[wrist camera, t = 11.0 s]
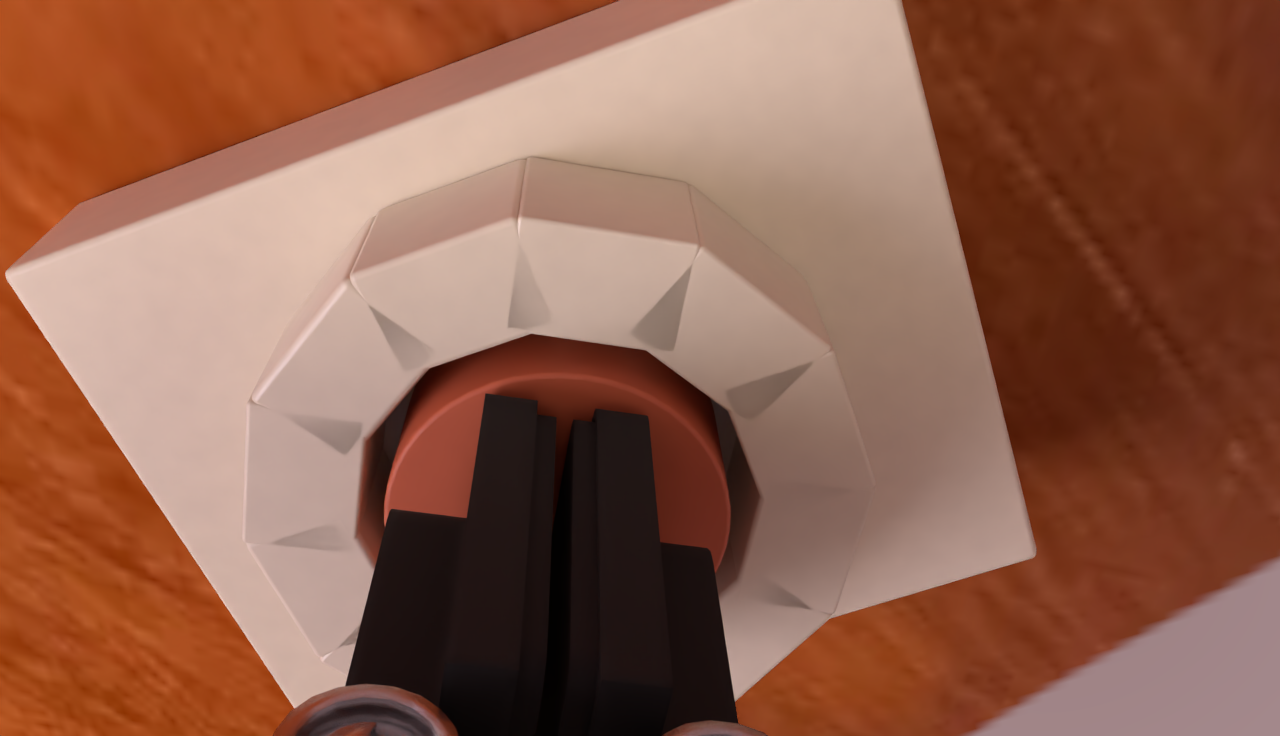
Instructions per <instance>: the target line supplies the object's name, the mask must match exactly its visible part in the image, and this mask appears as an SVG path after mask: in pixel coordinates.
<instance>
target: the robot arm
mask: <svg viewBox="0 0 1280 736" xmlns="http://www.w3.org/2000/svg"><path fill="white" fill-rule="evenodd" d="M537 408H538V401H537V400H530V399H523V398H516V397H509V396H501V395H494V394H487V393H485V399H484V406H483V413H482V419H481V426H480V433H479V439H478V446H477V453H476V459H475V466H474V472H473V479H472V486H471V492H470V499H469V506H468V512H467V518H462V517H454V516H446V515H438V514H430V513H422V512H414V511H406V510H398V509H391V510H390V511H389V515H388V518H387V521H386V525H385V529H384V533H383V537H382V541H381V545H380V549H379V553H378V557H377V561H376V565H375V569H374V573H373V577H372V581H371V585H370V589H369V593H368V597H367V601H366V605H365V609H364V613H363V617H362V621H361V625H360V629H359V633H358V637H357V641H356V645H355V649H354V653H353V657H352V661H351V665H350V669H349V673H348V677H347V681H346V685H345V686H343V687H337V688H334V689H332V690H329V691H326V692H323V693H320V694H318V695H315V696H312V697H311V698H309V699H308V700H306V701H305V702H303V703H302V704H300V705H299V706H298V707H296V708H295V709H293V710H292V711H290V712H289V714H288V715H287V716H286V718H285V719H284V720H283V721H282V723H281V724H280V725H279V727H278V728H277V729H276V730H275V732H274V734H273V736H768V735H766V734H765V733H763V732H761V731H758V730H755V729H752V728H749V727H746V726H743V725H740V724H738V719H737V712H736V706H735V699H734V693H733V686H732V680H731V673H730V667H729V661H728V654H727V648H726V641H725V635H724V628H723V622H722V615H721V609H720V602H719V596H718V589H717V583H716V576H715V570H714V563H713V559H712V555H711V551H710V550H709V549H708V548H703V547H695V546H687V545H679V544H671V543H663V542H660V535H659V524H658V513H657V502H656V491H655V481H654V470H653V459H652V448H651V437H650V426H649V419H648V416H647V415H640V414H633V413H625V412H618V411H611V410H603V409H595V411H594V414H593V418H592V422H589V421H582V420H574V419H573V422H572V426H571V430H570V436H569V441H568V447H567V452H566V458H565V463H564V469H563V475H562V480H561V486H560V491H559V497H558V502H557V508H556V513H555V519H554V525H553V530H552V522H553V498H554V473H555V449H556V425H557V417H552V416H545V415H538V414H537Z"/></svg>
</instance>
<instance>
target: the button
mask: <svg viewBox="0 0 1280 736" xmlns="http://www.w3.org/2000/svg"><path fill="white" fill-rule="evenodd" d="M485 393H487V394H494V395H501V396H509V397H516V398H523V399H530V400H537V401H538V408H537V414H538V415H545V416H552V417H557V425H556V449H555V473H554V498H553V522H552V530H553V525H554V519H555V513H556V508H557V502H558V497H559V491H560V486H561V480H562V475H563V469H564V463H565V458H566V452H567V447H568V441H569V436H570V430H571V426H572V422H573V419H574V420H582V421H589V422H592V418H593V414H594V411H595V409H603V410H611V411H618V412H625V413H633V414H640V415H647V416H648V419H649V426H650V437H651V448H652V459H653V470H654V481H655V491H656V502H657V513H658V524H659V535H660V542H663V543H671V544H679V545H687V546H695V547H703V548H708V549H709V550H710V551H711V555H712V559H713V563H714V570H715V573H716V571H717V569H718V567H719V566H720V564H721V561H722V558H723V555H724V553H725V550H726V547H727V543H728V537H729V532H730V523H731V506H730V499H729V491H728V485H727V480H726V474H725V469H724V463H723V458H722V452H721V447H720V441H719V436H718V430H717V425H716V419H715V414H714V409H713V406H712V402H711V399H710V397H708V396H707V395H706V394H704V393H703V392H702V391H700V390H699V389H697V388H696V387H695V386H693V385H692V384H691V383H689V382H688V381H687V380H685V379H684V378H683V377H681V376H680V375H679V374H677V373H676V372H675V371H673V370H672V369H670V368H669V367H668V366H666V365H665V364H664V363H662V362H661V361H660V360H658V359H657V358H656V357H654V356H653V355H652V354H650V353H649V352H648V351H646V350H640V349H633V348H626V347H620V346H613V345H606V344H599V343H592V342H585V341H578V340H572V339H565V338H558V337H551V336H544V335H537V334H529V335H526V336H523V337H520V338H517V339H514V340H511V341H508V342H506V343H503V344H500V345H497V346H494V347H491V348H488V349H485V350H482V351H479V352H476V353H473V354H470V355H467V356H464V357H462V358H459V359H456V360H453V361H450V362H447V363H444V364H441V365H438V366H435V367H432V368H430V369H429V370H428V371H427V372H426V373H425V374H424V376H423V377H422V378H421V379H420V380H419V381H418V383H417V384H416V385H415V388H414V391H413V394H412V397H411V399H410V402H409V406H408V410H407V413H406V417H405V421H404V424H403V428H402V432H401V435H400V439H399V443H398V446H397V450H396V454H395V457H394V461H393V465H392V468H391V472H390V476H389V480H388V484H387V489H386V495H385V500H384V524H385V525H386V521H387V518H388V515H389V511H390V510H391V509H398V510H406V511H414V512H422V513H430V514H438V515H446V516H454V517H462V518H467V512H468V506H469V499H470V492H471V486H472V479H473V472H474V466H475V459H476V453H477V446H478V439H479V433H480V426H481V419H482V413H483V406H484V399H485Z"/></svg>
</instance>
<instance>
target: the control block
mask: <svg viewBox="0 0 1280 736" xmlns="http://www.w3.org/2000/svg"><path fill="white" fill-rule="evenodd" d="M5 275H6V279H7V281H8V282H9V284H10V285H11V287H12V288H13V290H14V291H15V293H16V294H17V296H18V297H19V299H20V300H21V302H22V303H23V304H24V306H25V307H26V309H27V310H28V312H29V313H30V315H31V316H32V318H33V319H34V321H35V322H36V324H37V325H38V327H39V328H40V330H41V331H42V333H43V334H44V336H45V337H46V339H47V340H48V342H49V343H50V345H51V346H52V348H53V349H54V351H55V352H56V354H57V355H58V357H59V358H60V360H61V361H62V363H63V364H64V366H65V367H66V369H67V370H68V372H69V373H70V375H71V376H72V378H73V379H74V381H75V382H76V383H77V385H78V386H79V388H80V389H81V391H82V392H83V394H84V395H85V397H86V398H87V400H88V401H89V403H90V404H91V406H92V407H93V409H94V410H95V412H96V413H97V415H98V416H99V418H100V419H101V421H102V422H103V424H104V425H105V427H106V428H107V430H108V431H109V433H110V434H111V436H112V437H113V439H114V440H115V442H116V443H117V445H118V446H119V448H120V449H121V451H122V452H123V454H124V455H125V457H126V458H127V460H128V461H129V462H130V464H131V465H132V467H133V468H134V470H135V471H136V473H137V474H138V476H139V477H140V479H141V480H142V482H143V483H144V485H145V486H146V488H147V489H148V491H149V492H150V494H151V495H152V497H153V498H154V500H155V501H156V503H157V504H158V506H159V507H160V509H161V510H162V512H163V513H164V515H165V516H166V518H167V519H168V521H169V522H170V524H171V525H172V527H173V528H174V530H175V531H176V533H177V534H178V536H179V537H180V539H181V540H182V541H183V543H184V544H185V546H186V547H187V549H188V550H189V552H190V553H191V555H192V556H193V558H194V559H195V561H196V562H197V564H198V565H199V567H200V568H201V570H202V571H203V573H204V574H205V576H206V577H207V579H208V580H209V582H210V583H211V585H212V586H213V588H214V589H215V591H216V592H217V594H218V595H219V597H220V598H221V600H222V601H223V603H224V604H225V606H226V607H227V609H228V610H229V612H230V613H231V615H232V616H233V618H234V619H235V620H236V622H237V623H238V625H239V626H240V628H241V629H242V631H243V632H244V634H245V635H246V637H247V638H248V640H249V641H250V643H251V644H252V646H253V647H254V649H255V650H256V652H257V653H258V655H259V656H260V658H261V659H262V661H263V662H264V664H265V665H266V667H267V668H268V670H269V671H270V673H271V674H272V676H273V677H274V679H275V680H276V682H277V683H278V685H279V686H280V688H281V689H282V691H283V692H284V694H285V695H286V697H287V698H288V699H289V701H290V702H291V704H292V705H293V707H294V708H296V707H298V706H299V705H300V704H302V703H303V702H305V701H306V700H308V699H309V698H311V697H312V696H315V695H318V694H320V693H323V692H326V691H329V690H332V689H334V688H337V687H343V686H345V685H346V681H347V677H348V673H349V669H350V665H351V661H352V657H353V653H354V649H355V645H356V641H357V637H358V633H359V629H360V625H361V621H362V617H363V613H364V609H365V605H366V601H367V597H368V593H369V589H370V585H371V581H372V577H373V573H374V569H375V565H376V561H377V557H378V553H379V549H380V545H381V541H382V537H383V533H384V529H385V524H384V500H385V495H386V489H387V484H388V480H389V476H390V472H391V468H392V465H393V461H394V457H395V454H396V450H397V446H398V443H399V439H400V435H401V432H402V428H403V424H404V421H405V417H406V413H407V410H408V406H409V402H410V399H411V397H412V394H413V391H414V388H415V385H416V384H417V383H418V381H419V380H420V379H421V378H422V377H423V376H424V374H425V373H426V372H427V371H428V370H429V369H430V368H432V367H435V366H438V365H441V364H444V363H447V362H450V361H453V360H456V359H459V358H462V357H464V356H467V355H470V354H473V353H476V352H479V351H482V350H485V349H488V348H491V347H494V346H497V345H500V344H503V343H506V342H508V341H511V340H514V339H517V338H520V337H523V336H526V335H529V334H537V335H544V336H551V337H558V338H565V339H572V340H578V341H585V342H592V343H599V344H606V345H613V346H620V347H626V348H633V349H640V350H646V351H648V352H649V353H650V354H652V355H653V356H654V357H656V358H657V359H658V360H660V361H661V362H662V363H664V364H665V365H666V366H668V367H669V368H670V369H672V370H673V371H675V372H676V373H677V374H679V375H680V376H681V377H683V378H684V379H685V380H687V381H688V382H689V383H691V384H692V385H693V386H695V387H696V388H697V389H699V390H700V391H702V392H703V393H704V394H706V395H707V396H708V397H710V399H711V402H712V406H713V409H714V414H715V419H716V425H717V430H718V436H719V441H720V447H721V452H722V458H723V463H724V469H725V474H726V480H727V485H728V491H729V499H730V506H731V523H730V532H729V537H728V543H727V547H726V550H725V553H724V555H723V558H722V561H721V564H720V566H719V567H718V569H717V571H716V573H715V576H716V583H717V589H718V596H719V602H720V609H721V615H722V622H723V628H724V635H725V641H726V648H727V654H728V661H729V667H730V673H731V680H732V686H733V693H734V699H735V701H736V700H737V699H739V698H740V697H741V696H742V695H743V694H744V693H745V692H747V691H748V690H749V689H750V688H751V687H752V686H753V685H755V684H756V683H757V682H758V681H759V680H760V679H761V678H763V677H764V676H765V675H766V674H767V673H768V672H769V671H770V670H772V669H773V668H774V667H775V666H776V665H777V664H778V663H780V662H781V661H782V660H783V659H784V658H785V657H786V656H788V655H789V654H790V653H791V652H792V651H793V650H794V649H796V648H797V647H798V646H799V645H800V644H801V643H802V642H804V641H805V640H806V639H807V638H808V637H809V636H810V635H812V634H813V633H814V632H815V631H816V630H817V629H818V628H820V627H821V626H822V625H823V624H824V623H825V622H826V621H828V620H829V619H830V618H833V617H837V616H840V615H843V614H847V613H850V612H853V611H857V610H860V609H864V608H867V607H870V606H874V605H877V604H880V603H884V602H887V601H890V600H894V599H897V598H900V597H904V596H907V595H911V594H914V593H917V592H921V591H924V590H927V589H931V588H934V587H937V586H941V585H944V584H947V583H951V582H954V581H958V580H961V579H964V578H968V577H971V576H974V575H978V574H981V573H984V572H988V571H991V570H994V569H998V568H1001V567H1005V566H1008V565H1011V564H1015V563H1018V562H1021V561H1025V560H1028V559H1031V558H1033V557H1035V556H1036V545H1035V541H1034V537H1033V533H1032V528H1031V524H1030V520H1029V516H1028V512H1027V508H1026V504H1025V500H1024V496H1023V492H1022V488H1021V484H1020V480H1019V476H1018V471H1017V467H1016V463H1015V459H1014V455H1013V451H1012V447H1011V443H1010V439H1009V435H1008V431H1007V427H1006V423H1005V419H1004V415H1003V410H1002V406H1001V402H1000V398H999V394H998V390H997V386H996V382H995V378H994V374H993V370H992V366H991V362H990V358H989V353H988V349H987V345H986V341H985V337H984V333H983V329H982V325H981V321H980V317H979V313H978V309H977V305H976V301H975V297H974V292H973V288H972V284H971V280H970V276H969V272H968V268H967V264H966V260H965V256H964V252H963V248H962V244H961V240H960V235H959V231H958V227H957V223H956V219H955V215H954V211H953V207H952V203H951V199H950V195H949V191H948V187H947V183H946V179H945V174H944V170H943V166H942V162H941V158H940V154H939V150H938V146H937V142H936V138H935V134H934V130H933V126H932V122H931V117H930V113H929V109H928V105H927V101H926V97H925V93H924V89H923V85H922V81H921V77H920V73H919V69H918V65H917V61H916V56H915V52H914V48H913V44H912V40H911V36H910V32H909V28H908V24H907V20H906V16H905V12H904V8H903V4H902V0H620V1H617V2H614V3H612V4H609V5H606V6H604V7H601V8H598V9H596V10H593V11H590V12H588V13H585V14H582V15H580V16H577V17H574V18H572V19H569V20H566V21H564V22H561V23H558V24H556V25H553V26H550V27H548V28H545V29H542V30H540V31H537V32H534V33H532V34H529V35H527V36H524V37H521V38H519V39H516V40H513V41H511V42H508V43H505V44H503V45H500V46H497V47H495V48H492V49H489V50H487V51H484V52H481V53H479V54H476V55H473V56H471V57H468V58H465V59H463V60H460V61H457V62H455V63H452V64H449V65H447V66H444V67H441V68H439V69H436V70H433V71H431V72H428V73H425V74H423V75H420V76H417V77H415V78H412V79H409V80H407V81H404V82H401V83H399V84H396V85H393V86H391V87H388V88H385V89H383V90H380V91H377V92H375V93H372V94H369V95H367V96H364V97H361V98H359V99H356V100H353V101H351V102H348V103H345V104H343V105H340V106H337V107H335V108H332V109H329V110H327V111H324V112H321V113H319V114H316V115H313V116H311V117H308V118H305V119H303V120H300V121H298V122H295V123H292V124H290V125H287V126H284V127H282V128H279V129H276V130H274V131H271V132H268V133H266V134H263V135H260V136H258V137H255V138H252V139H250V140H247V141H244V142H242V143H239V144H236V145H234V146H231V147H228V148H226V149H223V150H220V151H218V152H215V153H212V154H210V155H207V156H204V157H202V158H199V159H196V160H194V161H191V162H188V163H186V164H183V165H180V166H178V167H175V168H172V169H170V170H167V171H164V172H162V173H159V174H156V175H154V176H151V177H148V178H146V179H143V180H140V181H138V182H135V183H132V184H130V185H127V186H124V187H122V188H119V189H116V190H114V191H111V192H108V193H106V194H103V195H100V196H98V197H95V198H92V199H90V200H87V201H84V202H82V203H79V204H78V205H77V206H76V207H75V208H74V209H73V210H72V211H71V212H69V213H68V214H67V215H66V216H65V217H64V218H63V219H62V220H61V221H60V222H59V223H57V224H56V225H55V226H54V227H53V228H52V229H51V230H50V231H49V232H48V233H47V234H45V235H44V236H43V237H42V238H41V239H40V240H39V241H38V242H37V243H36V244H35V245H34V246H32V247H31V248H30V249H29V250H28V251H27V252H26V253H25V254H24V255H23V256H22V257H20V258H19V259H18V260H17V261H16V262H15V263H14V264H13V265H12V266H11V267H10V268H9V269H8V270H7V271H6V273H5Z"/></svg>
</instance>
